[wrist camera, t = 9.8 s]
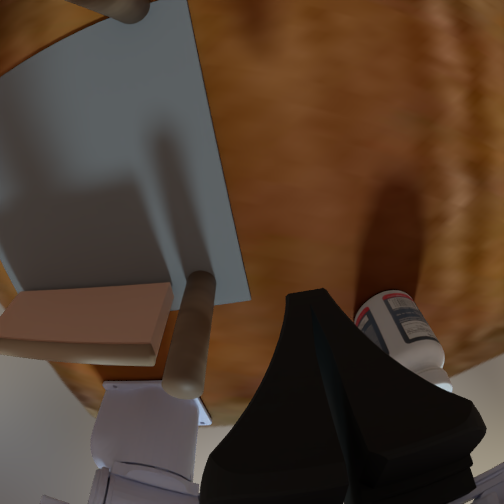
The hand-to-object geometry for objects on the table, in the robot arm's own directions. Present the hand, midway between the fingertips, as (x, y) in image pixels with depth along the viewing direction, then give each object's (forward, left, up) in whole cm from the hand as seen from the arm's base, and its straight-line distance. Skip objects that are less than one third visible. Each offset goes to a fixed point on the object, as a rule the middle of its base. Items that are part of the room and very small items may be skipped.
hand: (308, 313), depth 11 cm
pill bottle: (+7, -10, -10) cm, 16 cm away
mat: (-13, +4, -9) cm, 17 cm away
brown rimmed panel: (-15, -3, -9) cm, 18 cm away
